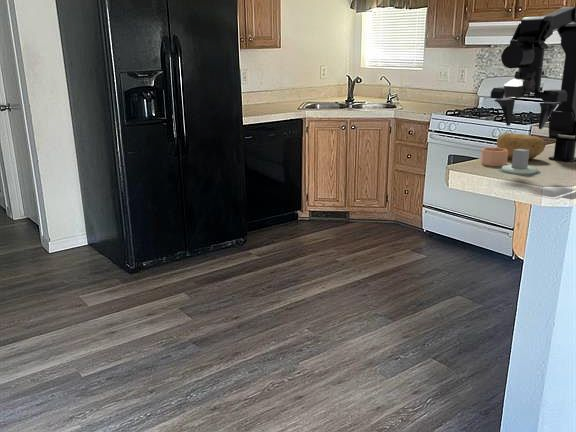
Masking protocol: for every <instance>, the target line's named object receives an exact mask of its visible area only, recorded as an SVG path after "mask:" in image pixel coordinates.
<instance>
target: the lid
mask: <svg viewBox="0 0 576 432" xmlns="http://www.w3.org/2000/svg"><path fill="white" fill-rule="evenodd" d="M529 151H530V150H526V149H515V150H513V158H512V159H511V160H512V161H511V164H507V165H503V166H501V168H502V171H504V172H507V173H513V174H535V173H537V170H538V168H537V167H534V166H531V165H529V160H528V159H529ZM507 173H506V174H507ZM513 174H512V175H513Z"/></svg>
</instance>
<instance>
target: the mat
mask: <svg viewBox="0 0 576 432" xmlns="http://www.w3.org/2000/svg"><path fill="white" fill-rule="evenodd" d="M497 171H498V172H500V173H503V174H506V175H515V176H536V175H541V173H542V171H540V170H538V169H537V173H535V174H513V173H507V172H504V171H502V167H499V168H497Z"/></svg>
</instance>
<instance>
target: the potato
mask: <svg viewBox="0 0 576 432" xmlns="http://www.w3.org/2000/svg"><path fill="white" fill-rule="evenodd" d="M496 148H504V149H507V150H508V158H507V159H510V160H512V158H513V150H515V149H526V150H530V151H529V159H528V161H529V160H533V159H535V158H536V157H537V156H539V155H541V154H542V153H543V152H544V151H545V148H546V142H545V140H544V139H543V138H541V137H539V136H534V135H528V134H523V133H513V132H505V133H502V134H501V135H499V136H498V137H497V140H496Z"/></svg>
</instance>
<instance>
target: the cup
mask: <svg viewBox="0 0 576 432" xmlns="http://www.w3.org/2000/svg"><path fill="white" fill-rule="evenodd" d="M479 155H480V157H479V163H480V164H481V165H485V166H490V167H491V166H492V167H502V166H505V165H508V159H509V158H508V150H507V149H504V148H498V147H494V146H493V147H491V146H490V147H482V148H480V154H479Z"/></svg>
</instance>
